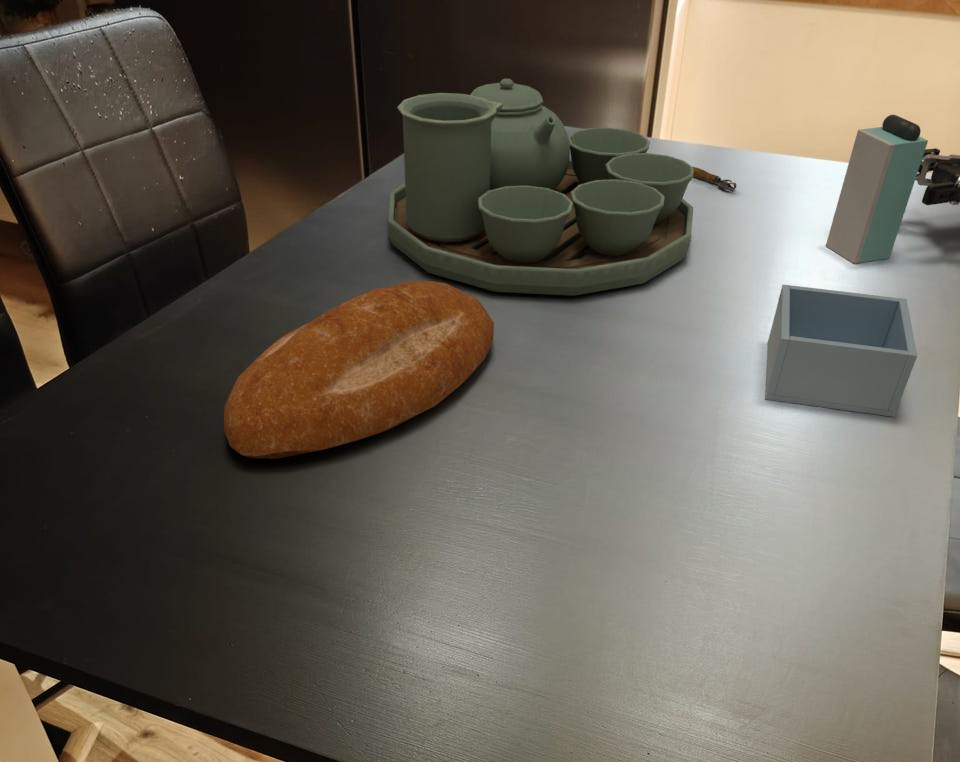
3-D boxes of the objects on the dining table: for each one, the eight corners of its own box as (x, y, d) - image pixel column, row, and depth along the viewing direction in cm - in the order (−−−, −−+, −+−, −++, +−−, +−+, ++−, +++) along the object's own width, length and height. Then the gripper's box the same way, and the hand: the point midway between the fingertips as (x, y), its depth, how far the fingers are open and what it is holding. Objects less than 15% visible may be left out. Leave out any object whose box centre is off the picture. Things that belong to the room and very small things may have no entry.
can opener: (687, 174, 141) (689, 166, 140) (699, 172, 142) (700, 163, 141) (730, 194, 135) (732, 185, 135) (742, 191, 136) (743, 182, 136)
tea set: (609, 331, 104) (628, 174, 93) (326, 248, 119) (312, 104, 107) (736, 219, 129) (764, 84, 117) (488, 162, 143) (491, 37, 132)
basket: (885, 357, 101) (906, 298, 97) (894, 417, 93) (917, 355, 88) (767, 342, 103) (782, 283, 99) (764, 399, 95) (781, 338, 90)
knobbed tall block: (860, 240, 124) (899, 110, 113) (889, 258, 120) (933, 125, 109) (825, 246, 123) (861, 114, 112) (853, 264, 119) (894, 130, 108)
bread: (540, 350, 101) (545, 269, 95) (305, 501, 81) (293, 410, 74) (416, 303, 108) (414, 225, 102) (173, 431, 88) (151, 343, 82)
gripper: (976, 122, 124) (876, 133, 119) (1059, 156, 114) (953, 170, 110) (955, 182, 129) (858, 195, 124) (1032, 219, 119) (930, 235, 115)
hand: (903, 183), depth 117 cm, fingers open, 8 cm apart
